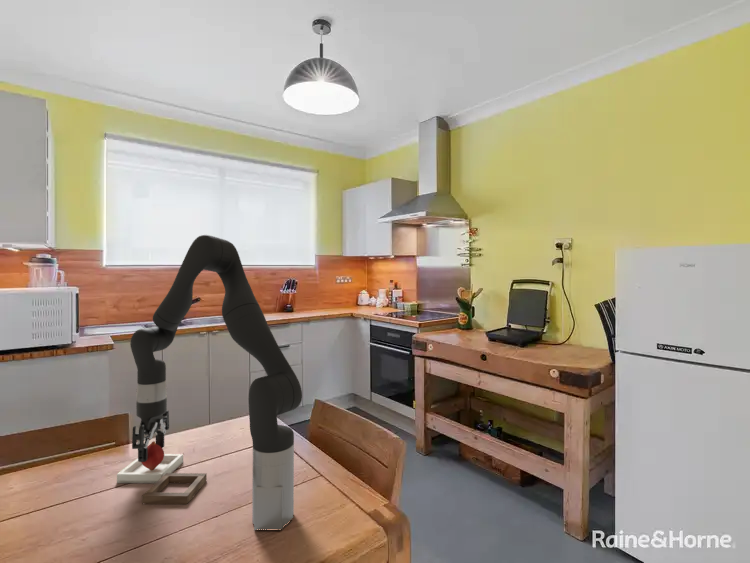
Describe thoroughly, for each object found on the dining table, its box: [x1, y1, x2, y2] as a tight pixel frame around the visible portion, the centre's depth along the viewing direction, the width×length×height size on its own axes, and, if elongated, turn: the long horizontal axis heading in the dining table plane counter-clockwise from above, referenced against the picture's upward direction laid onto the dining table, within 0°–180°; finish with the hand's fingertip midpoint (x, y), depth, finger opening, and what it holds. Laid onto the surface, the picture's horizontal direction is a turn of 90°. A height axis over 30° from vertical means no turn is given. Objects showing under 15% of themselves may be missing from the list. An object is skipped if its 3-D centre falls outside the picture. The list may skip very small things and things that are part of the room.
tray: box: [116, 453, 184, 484], centre depth 111 cm, size 12×12×2 cm
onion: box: [141, 440, 165, 470], centre depth 111 cm, size 6×6×8 cm
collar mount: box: [141, 472, 208, 505], centre depth 101 cm, size 11×11×2 cm
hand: (151, 454), depth 111 cm, fingers open, 8 cm apart
